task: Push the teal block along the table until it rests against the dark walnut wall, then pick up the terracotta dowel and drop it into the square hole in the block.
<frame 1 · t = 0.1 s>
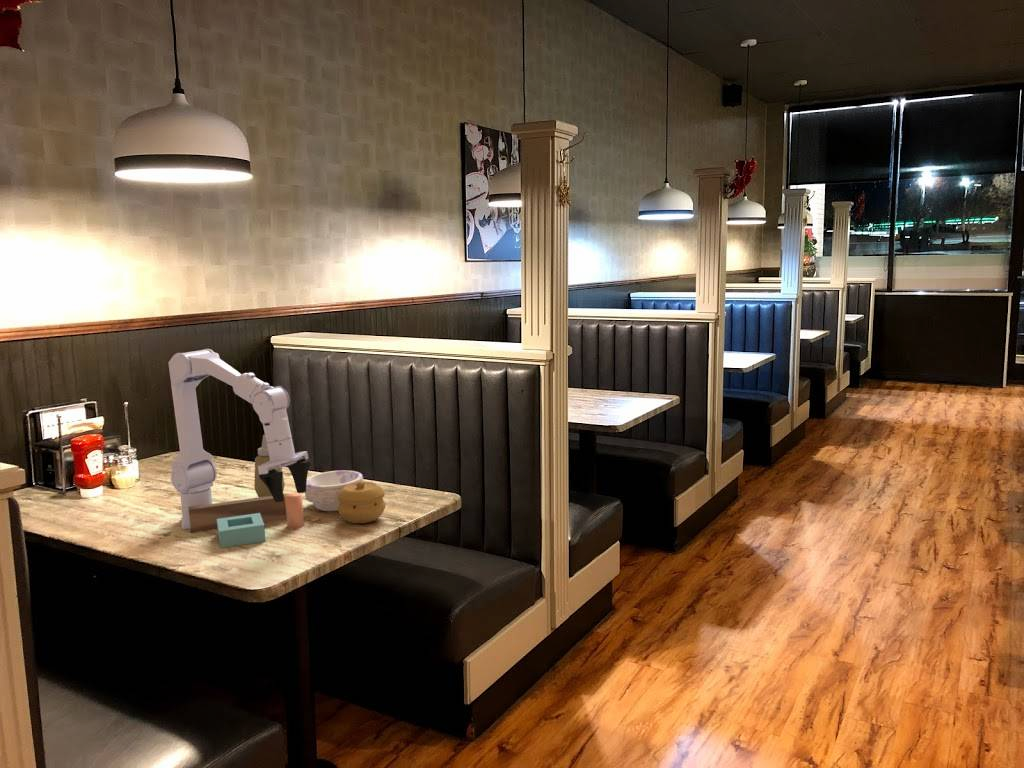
hand: (290, 497, 194), 11 cm above the table, tool pointing down, fingers open, 7 cm apart
backstop wall: (242, 524, 209), on the table
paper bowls: (335, 507, 222), on the table
pot: (362, 521, 209), on the table
dowel: (295, 526, 206), on the table
squeeze bottle: (270, 499, 230), on the table
sliding block: (240, 529, 198), point 2 cm above the table, slide at 4.5 cm
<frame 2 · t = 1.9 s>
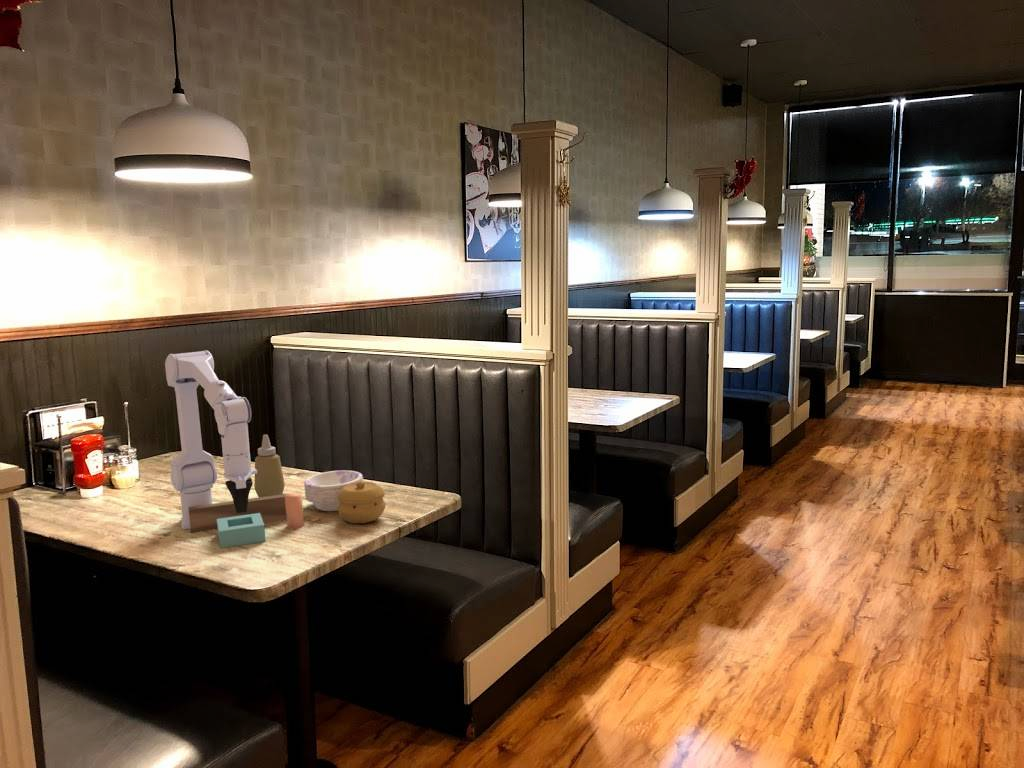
hand: (241, 511, 188), 9 cm above the table, tool pointing down, fingers closed
nothing on the table moved.
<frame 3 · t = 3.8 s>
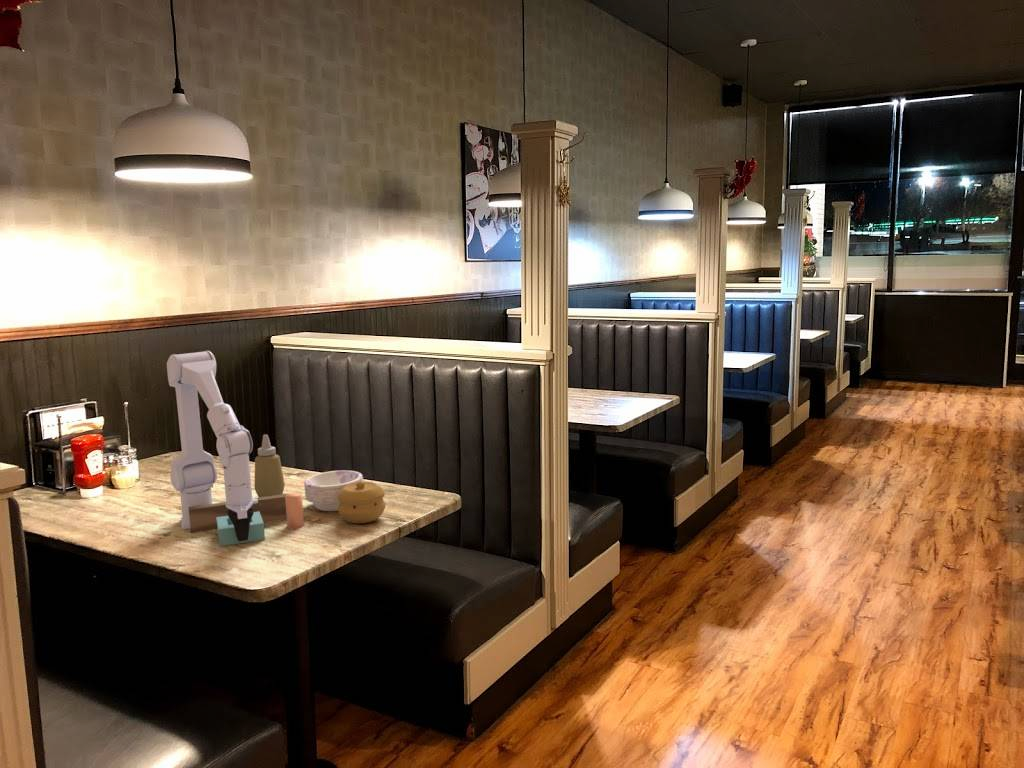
hand: (242, 539, 193), 1 cm above the table, tool pointing down, fingers closed
sliding block: (240, 528, 199), point 2 cm above the table, slide at 3.1 cm, touching gripper
everything else where it was.
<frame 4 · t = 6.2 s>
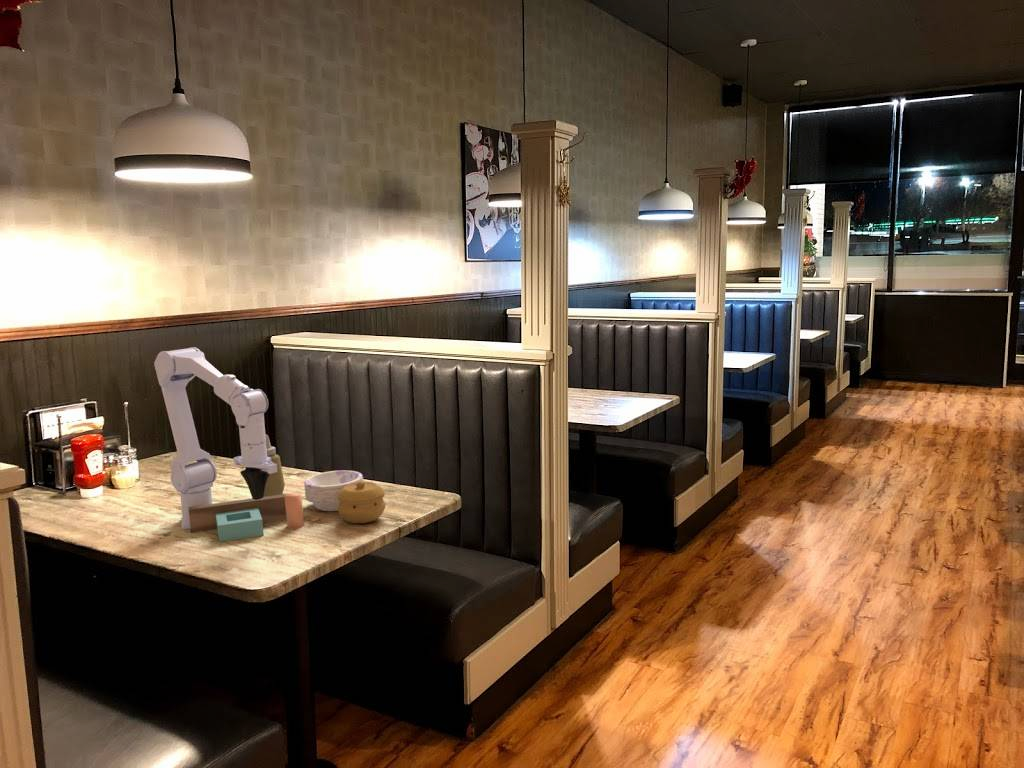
hand: (258, 498, 198), 9 cm above the table, tool pointing down, fingers closed
sliding block: (239, 524, 202), point 2 cm above the table, slide at 0.0 cm
everything else where it was.
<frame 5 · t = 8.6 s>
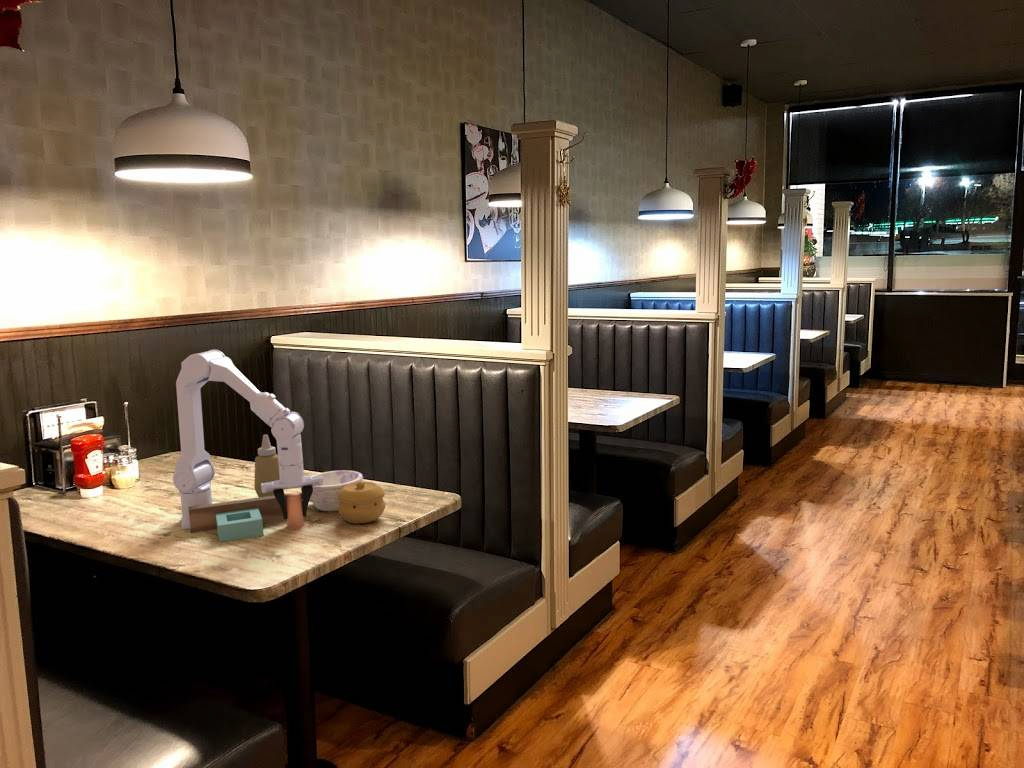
hand: (295, 516, 206), 2 cm above the table, tool pointing down, fingers closed on dowel, 4 cm apart
dowel: (295, 526, 206), on the table, touching gripper
everything else where it was.
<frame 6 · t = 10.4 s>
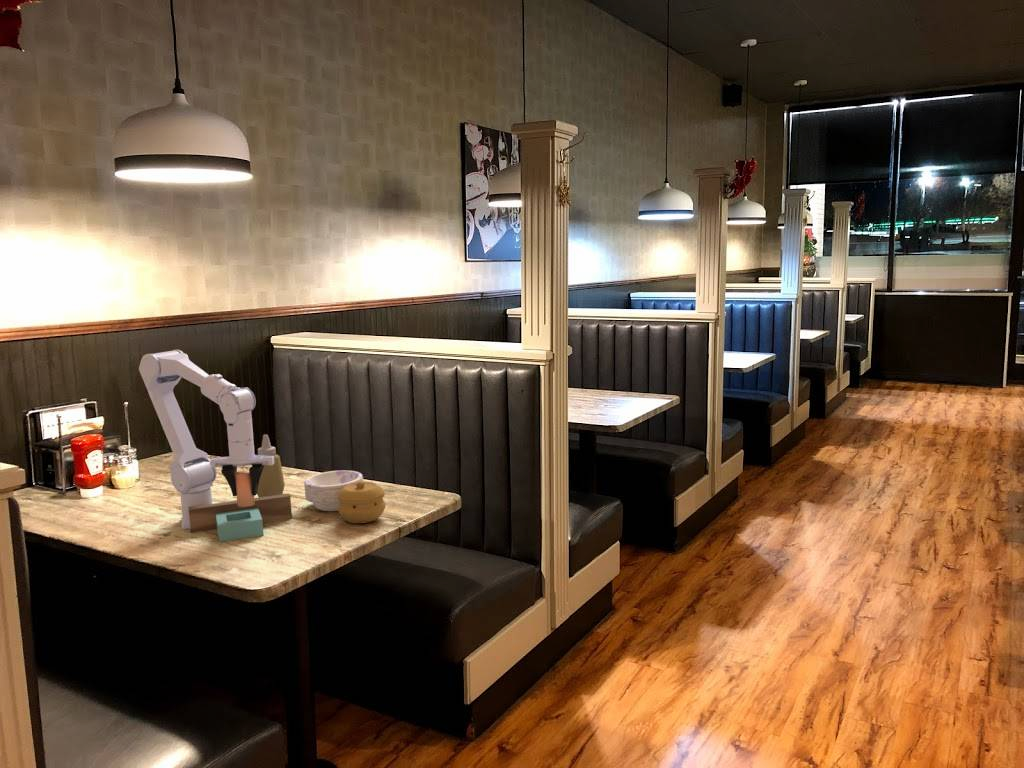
hand: (245, 494, 202), 9 cm above the table, tool pointing down, fingers closed on dowel, 4 cm apart
dowel: (246, 504, 202), point 7 cm above the table, touching gripper
everything else where it was.
when the fingers open (5 cm above the table, at t = 12.1 s): dowel drops 1 cm, resting on sliding block.
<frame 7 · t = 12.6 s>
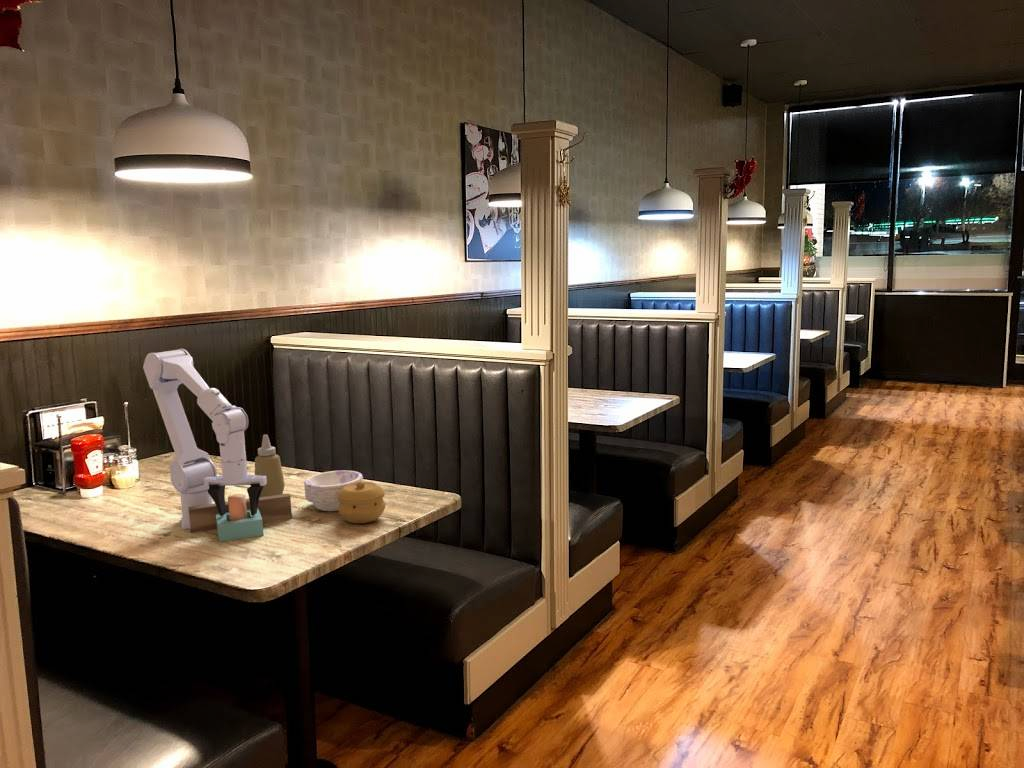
hand: (238, 514, 202), 5 cm above the table, tool pointing down, fingers open, 7 cm apart
dowel: (239, 528, 202), point 1 cm above the table, touching sliding block
sliding block: (239, 524, 202), point 2 cm above the table, slide at 0.0 cm, touching dowel
everything else where it was.
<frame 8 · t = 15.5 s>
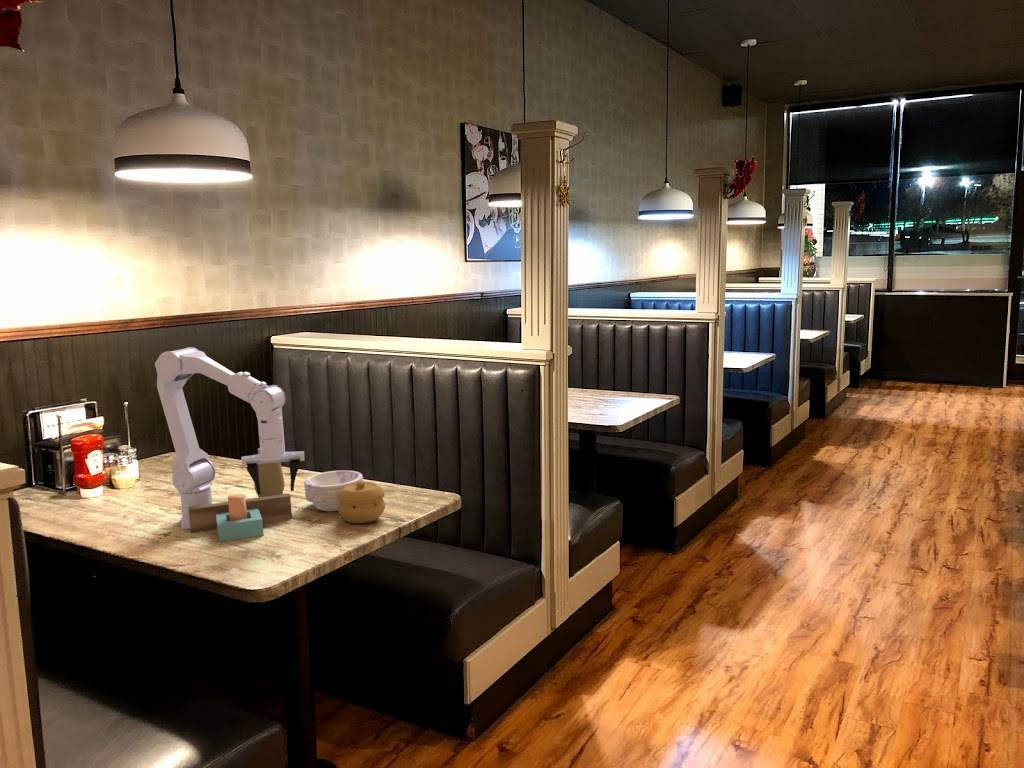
hand: (276, 491, 203), 9 cm above the table, tool pointing down, fingers open, 7 cm apart
nothing on the table moved.
at the end: sliding block slide at 0.0 cm; dowel 0.1 cm off-centre on the sliding block, point 1.0 cm above the sliding block's base; dowel tilted 1° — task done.
